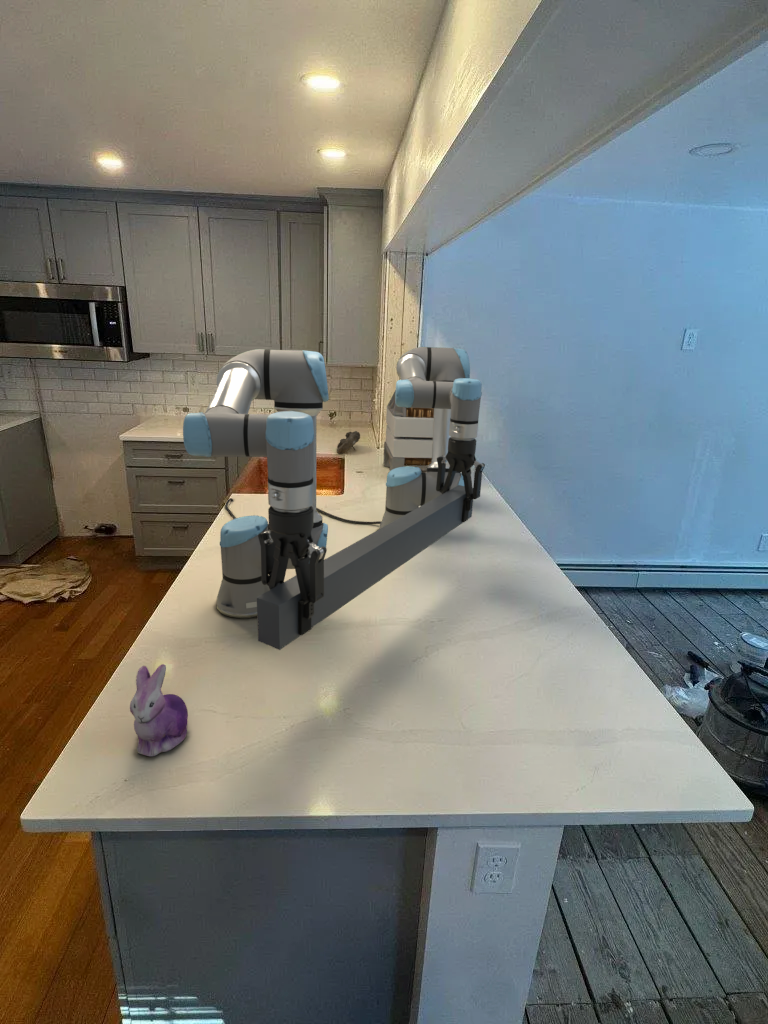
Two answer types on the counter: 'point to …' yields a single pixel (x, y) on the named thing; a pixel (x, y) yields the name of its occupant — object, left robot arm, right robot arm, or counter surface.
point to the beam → (359, 567)
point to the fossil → (348, 442)
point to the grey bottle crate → (408, 436)
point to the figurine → (157, 714)
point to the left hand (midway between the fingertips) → (292, 626)
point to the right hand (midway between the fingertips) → (455, 518)
